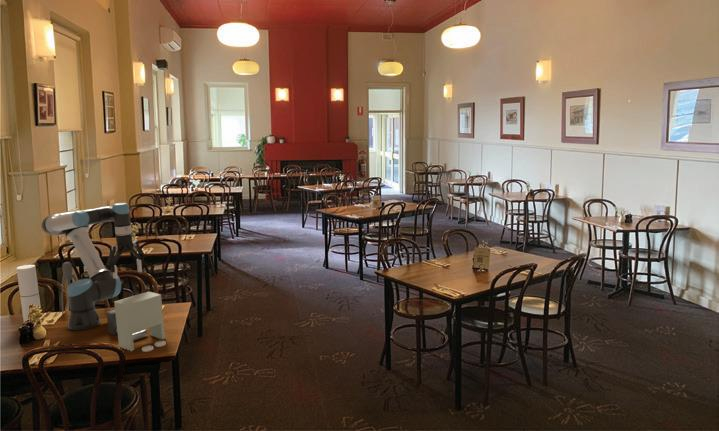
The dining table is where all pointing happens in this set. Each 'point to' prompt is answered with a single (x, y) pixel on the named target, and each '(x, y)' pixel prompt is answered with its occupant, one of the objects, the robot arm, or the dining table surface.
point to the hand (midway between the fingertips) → (127, 275)
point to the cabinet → (139, 317)
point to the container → (28, 288)
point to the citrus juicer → (68, 276)
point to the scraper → (113, 326)
